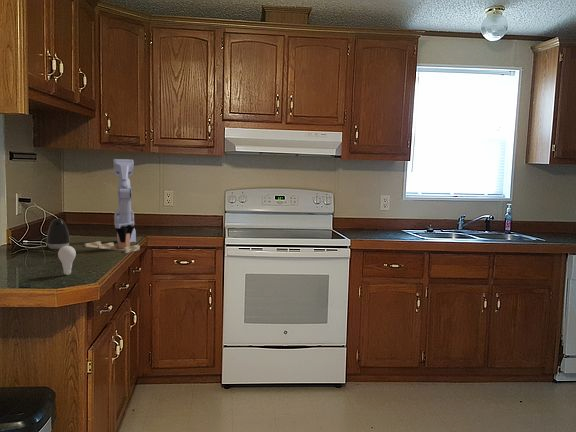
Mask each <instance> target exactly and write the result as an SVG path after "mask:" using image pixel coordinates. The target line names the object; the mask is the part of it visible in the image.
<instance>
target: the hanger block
mask: <svg viewBox="0 0 576 432" xmlns="http://www.w3.org/2000/svg"><path fill="white" fill-rule="evenodd" d="M117 245H118V248H120V249H124V247H129V246H131V242H130V233H126V241H125V242H120V238H119V235H118V242H117Z"/></svg>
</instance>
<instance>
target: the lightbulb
mask: <svg viewBox="0 0 576 432" xmlns="http://www.w3.org/2000/svg"><path fill="white" fill-rule="evenodd" d="M76 256H77V252H76V249H75V248H74V247H73V246H71V245H69V246H63V247H62V248H60V249H58V253H57V257H58V259H59V261H60V263H61V264H62V269H63V274H64V275H65V276H69V275H71V273H72V268H73V263H74V261H75V258H76Z"/></svg>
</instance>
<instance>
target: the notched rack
mask: <svg viewBox="0 0 576 432" xmlns="http://www.w3.org/2000/svg"><path fill="white" fill-rule="evenodd" d="M84 247H85V248H93V249H100V250H101V249H102V250H112V251H113V250H114V251H120V252H121V253H124V254H127V253H131V252H138V251H140V248H141V245H140V244H135V245H130V246H129V247H124V249H120V248H118V244H116V245H115V243H114V242H113V241H112V242H105V243H102V241H100V240H97V241H94V242H87V243H86V242H85V243H84Z"/></svg>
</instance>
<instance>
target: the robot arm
mask: <svg viewBox="0 0 576 432" xmlns="http://www.w3.org/2000/svg"><path fill="white" fill-rule="evenodd" d="M112 161H113V162H112V163H113V174H114V175H115V176H117V178H118V181H117V188H118V189H117V201H118V202H117V204H118V209H116V210H114V215H113V217H114V218H113V219H114V221H113V223H114V229H115V231H116V239H117V240H116V241H117V243H118V235H119V238H120V242H125V241H126V233H130V243H132V242H134V243H137V239H136V238H137V237H136V236H137V232H136V229H135V213H134V210H132V199H133V190H132V186H131V180H130V177H132V176H133V174H134V165H135V163H134V160H133V159H131V158H130V159H126V158H125V159H123V158H121V159H120V158H119V159H117V158H114V159H113V160H112Z"/></svg>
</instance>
